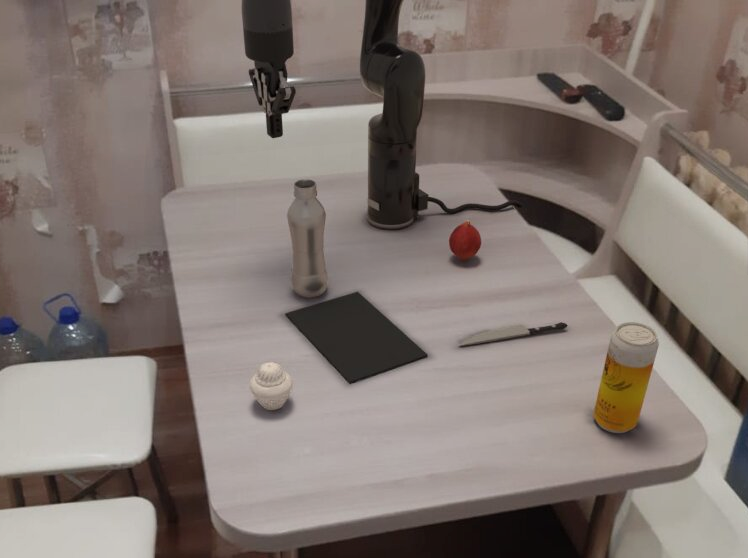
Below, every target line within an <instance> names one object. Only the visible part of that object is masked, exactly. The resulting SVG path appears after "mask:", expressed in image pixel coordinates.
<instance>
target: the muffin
mask: <svg viewBox="0 0 748 558" xmlns="http://www.w3.org/2000/svg"><path fill="white" fill-rule="evenodd" d="M257 369H258V370H257V372H256V373H255V374H254V375H253V376H252V377H251V379H250V381H249V390H250V392H251V394H252V395H253V396H252V397H254V398H255V399H256V401H257V402H258V403H259V404H260V406H261V407H262V408H264V409H265V410H267V411H277V410H279V409H281V408H282V407H283V406H284V405H285V403H286V402H287V400H288V398H289V396H290V394H291V393H292V389H293V379H292V377H291V375H290V374H289V373H287V372H286V371H285V370H284V369H283V367H282V366H281V365H280V364H278V363H277V362H273V361H271V362H269V361H267V362H264V363H263V364H261V365H260V366H259V367H258V368H257Z"/></svg>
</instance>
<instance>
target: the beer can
mask: <svg viewBox="0 0 748 558" xmlns="http://www.w3.org/2000/svg"><path fill="white" fill-rule="evenodd" d="M659 345H660V342H659V339H658V334H657V331H656V330H655V329H654V328H653V327H651V326H649V325H648V324H644V323H641V322H635V321H629V322H628V321H627V322H623V323H620V324H619V325H617V326H616V327H615V330H613V332H612V333H611V335H610V338H609V343H608V347H607V353H606V357H605V361H604V364H603V366H604V367H603V371H602V375H601V378H600V382H599V387H598V392H597V396H596V401H595V405H594V410H593V418H594V420H595V422H596V423H597V425H598V426H599V427H600V428H601V429H603V430H604V431H606V432H609V433H613V434H623V433H627V432H629V431H631V430H632V429H634V428H636V426H637V425H638V422H639V419H640V415H641V412H642V408H643V405H644V402H645V401H644V400H645V397H646V393H647V390H648V386H649V382H650V379H651V375H652V371H653V367H654V364H655V360H656V357H657V353H658V349H659Z"/></svg>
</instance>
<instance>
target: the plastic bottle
mask: <svg viewBox="0 0 748 558" xmlns="http://www.w3.org/2000/svg"><path fill="white" fill-rule="evenodd" d="M317 196H318V190H317V183H316V181H315V180H313V179H308V178H303V179H299V180H296V181H295V182H294V183H293V197H294V199H293V201H292V202H291V204H290V205H289V207H288V210H287V215H286V218H287V219H286V220H287V224H288V229H289V233H290V239H291V248H292V249H291V250H292V265H291V266H292V267H291V273H290V282H291V283H290V284H291V287H292V290H293V291H294V292H295V293H296V294H297V295H298V296H300V297H303V298H315V297H319V296H321V295H322V294H323V293H324V292H325V291H326V290H327V288H328V283H329V275H328V270H327V266H326V260H325V251H324V243H325V242H324V239H325V238H324V237H325V227H326V218H327V217H326V216H327V215H326V214H327V213H326V210H325V208H324V206H323V204H322V203H321V201H320V200H319V199H318V198H317Z"/></svg>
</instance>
